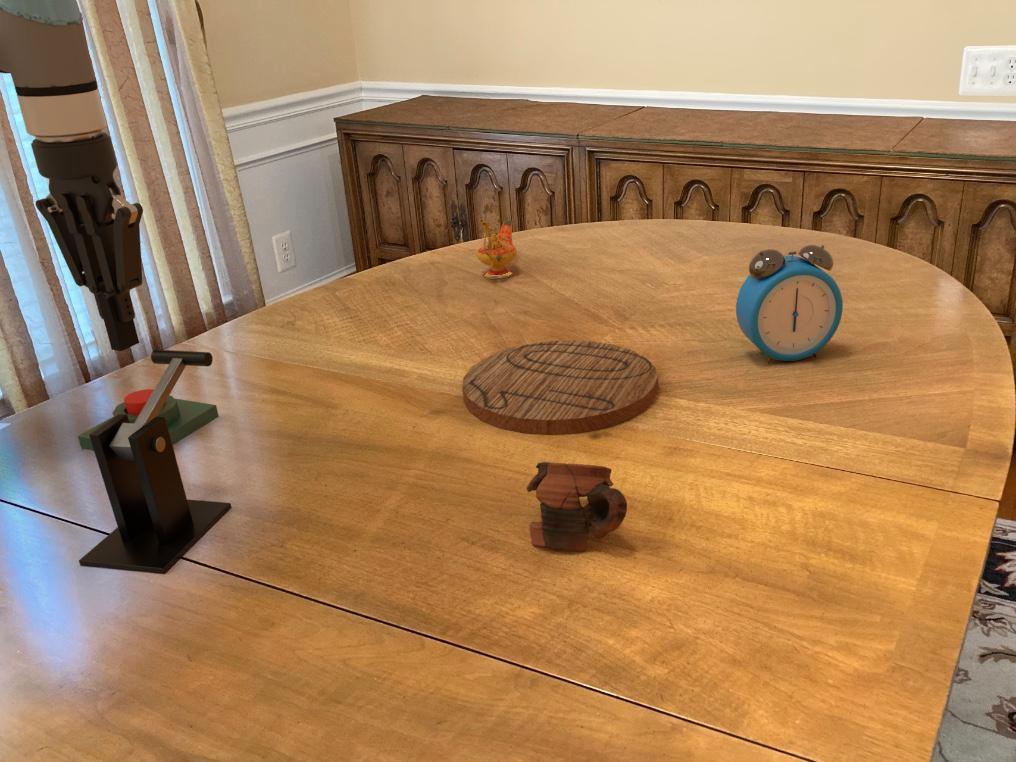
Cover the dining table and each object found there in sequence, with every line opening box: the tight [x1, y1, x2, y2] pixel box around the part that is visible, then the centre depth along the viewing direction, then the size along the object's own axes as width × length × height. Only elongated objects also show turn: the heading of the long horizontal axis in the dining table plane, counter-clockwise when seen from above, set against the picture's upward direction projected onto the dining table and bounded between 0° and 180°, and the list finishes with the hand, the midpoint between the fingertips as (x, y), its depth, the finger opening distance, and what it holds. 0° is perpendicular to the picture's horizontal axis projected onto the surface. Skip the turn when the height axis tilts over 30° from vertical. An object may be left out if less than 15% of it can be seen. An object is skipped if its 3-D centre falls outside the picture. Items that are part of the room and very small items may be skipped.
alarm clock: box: [735, 244, 844, 364], centre depth 130 cm, size 13×6×15 cm, turn 103°
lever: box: [109, 349, 214, 462], centre depth 95 cm, size 13×6×2 cm, turn 169°
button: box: [123, 388, 164, 415], centre depth 116 cm, size 4×4×2 cm
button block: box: [77, 394, 220, 451], centre depth 117 cm, size 10×12×4 cm
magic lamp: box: [476, 220, 517, 280], centre depth 169 cm, size 7×18×11 cm, turn 171°
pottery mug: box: [526, 461, 628, 552], centre depth 95 cm, size 12×10×8 cm
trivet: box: [461, 339, 659, 436], centre depth 126 cm, size 25×25×2 cm
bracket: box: [78, 414, 232, 575], centre depth 94 cm, size 12×9×13 cm
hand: (125, 346), depth 113 cm, fingers closed
